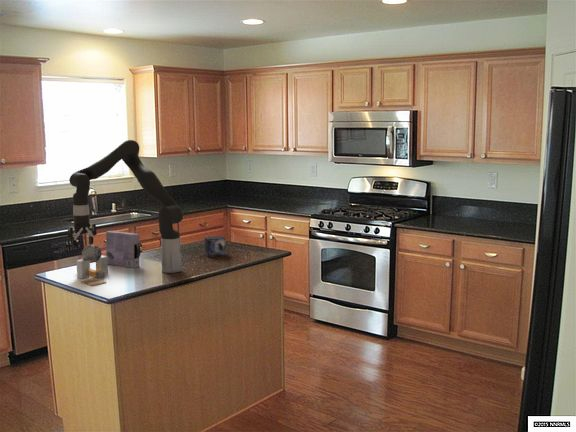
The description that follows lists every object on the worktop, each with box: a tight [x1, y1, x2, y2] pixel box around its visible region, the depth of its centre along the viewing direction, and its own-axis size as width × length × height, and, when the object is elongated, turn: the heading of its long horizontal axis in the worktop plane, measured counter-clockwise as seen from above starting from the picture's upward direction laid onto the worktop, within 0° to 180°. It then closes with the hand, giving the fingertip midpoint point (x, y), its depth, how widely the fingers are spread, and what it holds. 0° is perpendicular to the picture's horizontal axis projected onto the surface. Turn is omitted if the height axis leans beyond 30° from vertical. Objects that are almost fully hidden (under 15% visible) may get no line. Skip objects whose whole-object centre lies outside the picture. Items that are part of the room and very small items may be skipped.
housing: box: [76, 244, 109, 280], centre depth 288 cm, size 4×14×15 cm, turn 139°
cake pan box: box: [105, 230, 142, 269], centre depth 307 cm, size 19×5×18 cm, turn 68°
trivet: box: [80, 277, 107, 287], centre depth 277 cm, size 10×7×1 cm
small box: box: [204, 235, 226, 258], centre depth 330 cm, size 11×6×10 cm, turn 114°
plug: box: [89, 263, 106, 280], centre depth 290 cm, size 19×4×6 cm, turn 47°
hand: (83, 245), depth 292 cm, fingers open, 8 cm apart
